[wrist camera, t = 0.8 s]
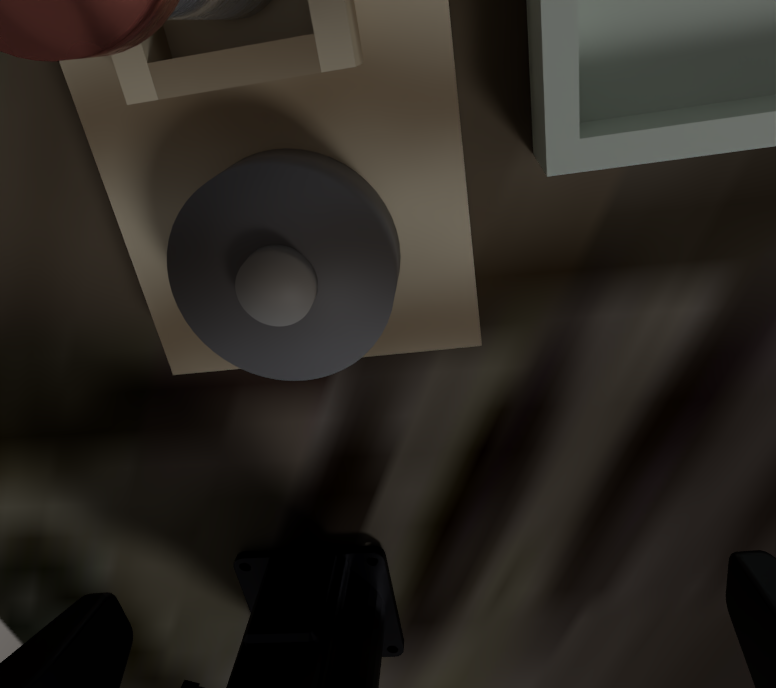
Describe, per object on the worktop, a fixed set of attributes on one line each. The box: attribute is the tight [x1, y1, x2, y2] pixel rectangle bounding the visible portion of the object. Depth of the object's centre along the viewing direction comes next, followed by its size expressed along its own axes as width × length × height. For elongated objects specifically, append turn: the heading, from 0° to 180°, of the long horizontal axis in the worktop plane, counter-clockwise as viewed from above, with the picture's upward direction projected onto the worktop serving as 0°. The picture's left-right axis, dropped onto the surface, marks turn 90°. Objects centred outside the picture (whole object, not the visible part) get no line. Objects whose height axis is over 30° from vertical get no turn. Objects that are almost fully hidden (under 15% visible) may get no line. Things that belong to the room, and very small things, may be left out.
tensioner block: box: [59, 0, 482, 381], centre depth 16 cm, size 14×10×5 cm
